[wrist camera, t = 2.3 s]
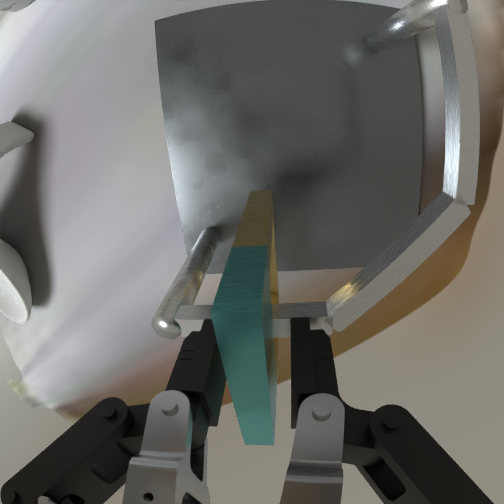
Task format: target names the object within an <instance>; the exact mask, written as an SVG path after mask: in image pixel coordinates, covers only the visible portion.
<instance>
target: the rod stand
mask: <svg viewBox="0 0 504 504" xmlns="http://www.w3.org/2000/svg"><path fill="white" fill-rule="evenodd" d="M467 10H468V4H467V1H466V0H413V1H412V2H410V3H409V4H408V5H406V6H405V7H403V8H402V9H397V8H392V7H386V6H380V5H374V4H367V3H358V2H349V1H336V0H268V1H256V2H246V3H238V4H230V5H223V6H217V7H212V8H206V9H201V10H196V11H192V12H187V13H183V14H179V15H175V16H171V17H167V18H164V19H160V20H157V21H155V35H156V48H157V60H158V71H159V81H160V90H161V99H162V107H163V115H164V123H165V130H166V138H167V144H168V151H169V158H170V164H171V170H172V176H173V182H174V188H175V194H176V199H177V205H178V210H179V215H180V220H181V226H182V231H183V236H184V240H185V245H186V250H187V255H188V257H187V259H186V260H185V262H184V264H183V265H182V267H181V269H180V271H179V272H178V274H177V276H176V278H175V280H174V281H173V283H172V285H171V287H170V288H169V290H168V292H167V294H166V296H165V297H164V299H163V301H162V303H161V305H160V307H159V308H158V310H157V312H156V314H155V316H154V318H153V320H152V328H153V329H154V331H155V332H156V333H157V334H158V335H160V336H161V337H163V338H166V339H176V338H178V337H187V336H188V335H189V334H190V333H191V332H192V331H200V330H201V327H202V324H203V321H204V319H212V318H211V313H210V312H211V309H212V306H213V305H193V303H194V301H195V299H196V296H197V294H198V291H199V289H200V286H201V284H202V282H203V279H204V277H205V274H219V273H223V272H224V269H225V266H226V263H227V260H228V257H229V254H230V251H231V248H232V245H233V242H234V239H235V236H236V233H237V230H238V227H239V224H240V221H241V218H242V215H243V212H244V209H245V206H246V203H247V200H248V197H249V194H250V191H258V190H272V198H273V212H274V226H275V240H276V256H277V271H297V270H318V269H337V268H355V267H365V268H364V269H363V270H362V271H360V272H359V273H358V274H357V275H356V276H355V277H354V278H353V279H351V280H350V281H349V282H348V283H347V284H346V285H345V286H343V287H342V288H341V289H340V290H339V291H338V292H336V293H335V294H334V295H333V296H332V297H330V298H329V299H328V300H327V301H326V302H308V303H286V304H272V316H273V331H274V338H275V337H291V331H290V317H309V320H310V329H311V330H316V329H323V330H324V331H325V332H326V334H327V335H332V329H333V328H334V329H335V330H337V331H338V332H341V331H342V330H343V329H345V328H346V327H347V326H349V325H350V324H351V323H352V322H354V321H355V320H356V319H358V318H359V317H360V316H361V315H363V314H364V313H365V312H366V311H368V310H369V309H370V308H371V307H373V306H374V305H375V304H376V303H377V302H379V301H380V300H381V299H382V298H383V297H385V296H386V295H387V294H388V293H389V292H390V291H392V290H393V289H394V288H395V287H396V286H397V285H398V284H400V283H401V282H402V281H403V280H404V279H405V278H406V277H407V276H409V275H410V274H411V273H412V272H413V271H414V270H415V269H416V268H417V267H418V266H419V265H420V264H422V263H423V262H424V261H425V260H426V259H427V258H428V257H429V256H430V255H431V254H432V253H433V252H434V251H435V250H436V249H437V248H438V247H439V246H440V245H441V244H442V243H443V242H444V241H445V240H446V239H447V238H448V237H449V236H450V235H451V234H452V233H453V232H454V231H455V230H456V229H457V228H458V227H459V225H460V224H461V223H462V222H463V221H464V220H465V219H466V218H467V217H468V216H469V215H470V213H471V212H470V210H469V208H468V206H467V205H474V202H475V195H476V186H477V177H478V165H479V146H480V108H479V90H478V78H477V69H476V61H475V54H474V48H473V42H472V36H471V31H470V27H469V22H468V18H467V14H466V12H467ZM434 25H436V30H437V35H438V41H439V47H440V54H441V62H442V71H443V81H444V94H445V117H446V144H445V168H444V182H443V191H442V192H441V193H440V194H439V196H438V197H437V198H436V199H435V200H434V201H433V202H432V203H431V204H430V205H429V206H428V207H427V208H426V209H425V210H424V211H423V212H422V213H421V214H420V215H419V216H418V211H419V201H420V190H421V175H422V148H423V124H422V98H421V84H420V73H419V64H418V55H417V48H416V42H415V34H417V33H419V32H421V31H423V30H425V29H428V28H430V27H432V26H434Z"/></svg>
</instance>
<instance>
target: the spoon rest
mask: <svg viewBox="0 0 504 504" xmlns="http://www.w3.org/2000/svg"><path fill="white" fill-rule="evenodd" d="M33 138H34V133H33V132H31V131H30V130H28V129H26V128H23V127H22V126H20V125H18V124H15V123H13V122H5V123H3V124H1V125H0V158H1V157H2V156H4V155H5V154H6V153H8V152H10V151H11V150H13V149H15V148H17V147H19V146H21V145H24V144H26V143H29V142H30V141H32V139H33ZM31 308H32V295H31V289H30V284H29V280H28V272H27V269H26V266H25V264H24V261H23V260H22V258H21V256H20V255H19V254H18V252H17V251H16V250H15V249H14V248H13V247H12V246H11V245H9V244H7V243H5V242H4V241H3V240H1V239H0V311H1V312H2V313H3V314H4V315H5V316H7V317H8V318H9V319H11V320H13V321H15V322H17V323H26V322H27V321H28V319H29V317H30V314H31Z"/></svg>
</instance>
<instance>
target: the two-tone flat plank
mask: <svg viewBox="0 0 504 504" xmlns="http://www.w3.org/2000/svg"><path fill="white" fill-rule="evenodd" d="M272 304H279V290H278V272H277V256H276V240H275V226H274V212H273V198H272V190H258V191H250V194H249V197H248V200H247V203H246V206H245V209H244V212H243V215H242V218H241V221H240V224H239V227H238V230H237V233H236V236H235V239H234V242H233V245H232V248H231V251H230V254H229V257H228V260H227V263H226V266H225V269H224V272H223V275H222V278H221V281H220V284H219V287H218V290H217V294H216V297H215V300H214V303H213V306H212V309H211V312H210V313H211V318H212V322H213V326H214V330H215V335H216V339H217V343H218V347H219V351H220V355H221V359H222V363H223V367H224V371H225V375H226V379H227V382H228V386H229V390H230V393H231V397H232V401H233V404H234V408H235V411H236V415H237V418H238V422H239V425H240V429H241V432H242V436H243V439H244V442H245V444H246V445H274V437H275V417H276V393H277V392H276V391H277V363H278V337H275V338H274V331H273V316H272Z"/></svg>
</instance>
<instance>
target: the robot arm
mask: <svg viewBox="0 0 504 504" xmlns="http://www.w3.org/2000/svg"><path fill="white" fill-rule="evenodd" d="M32 1H33V0H0V10H1V11H10V12H15V11H18V10H21V9H23V8H24V7H26V6H27V5H29V4H30V3H31V2H32ZM290 331H291V429H296V431H295V437H294V443H293V448H292V454H291V459H290V464H289V467H288V470H287V473H286V479H285V482H284V487H283V492H282V496H281V500H280V504H340V502H341V495H342V485H343V470H342V467H341V466H342V463H348V464H353V465H355V466H356V467H357V468H358V470H359V471H360V473H361V474H362V475H363V477H364V478H365V479H366V481H367V482H368V483H369V485H370V486H371V487H372V488H373V490H374V491H375V493H376V494H377V495H378V496H379V498H380V499H381V500H382V501H383V503H384V504H494V503H493V502H492V501H491V500H490V499H489V498H488V497H487V496H486V495H485V494H484V493H483V492H482V490H481V489H480V488H479V487H478V486H477V485H476V484H475V483H474V482H473V481H472V480H471V479H470V477H469V476H468V475H467V474H466V473H465V472H464V471H463V470H462V469H461V468H460V467H459V465H458V464H457V463H456V462H455V461H454V460H453V459H452V458H451V457H450V456H449V455H448V454H447V453H446V452H445V450H444V449H443V448H442V447H441V446H440V445H439V444H438V443H437V442H436V441H435V440H434V439H433V438H432V437H431V435H430V434H429V433H428V432H427V431H426V430H425V429H424V428H423V427H422V426H421V425H420V424H419V423H418V421H417V420H416V419H415V418H414V417H413V416H412V415H411V414H410V413H409V412H408V411H407V410H406V409H405V408H403V407H401V406H398V405H385V406H382V407H380V408H378V409H377V410H376V411H375V412H372V411H365V410H359V409H355V408H353V407H350V406H349V405H347V404H346V403H345V402H344V401H343V400H342V399H341V397H340V395H339V392H338V385H337V378H336V372H335V366H334V360H333V353H332V347H331V341H330V337H329V336H328V335H327V334H326V332H325V331H324V330H323V329H316V330H311V329H310V320H309V317H290ZM225 383H226V375H225V371H224V367H223V363H222V359H221V355H220V351H219V347H218V343H217V339H216V335H215V330H214V326H213V322H212V319H204V321H203V324H202V327H201V330H200V331H192V332H191V333H190V334H189V335H188V336H187V337H186V338H185V339H184V341H183V344H182V347H181V349H180V352H179V355H178V357H177V360H176V363H175V365H174V368H173V371H172V374H171V376H170V379H169V382H168V385H167V387H166V390H165V391H164V392H161V393H159V394H158V395H156V396H155V397H154V398H153V399H152V401H151V403H148V404H142V405H134V406H127V405H126V404H125V402H124V401H123V400H121V399H119V398H115V397H110V398H106V399H103V400H102V401H100V402H99V403H98V404H97V405H95V406H94V407H93V408H92V409H91V410H90V411H89V412H87V413H86V414H85V415H84V416H83V417H82V418H81V419H79V420H78V421H77V422H76V423H75V424H74V425H72V426H71V427H70V428H69V429H68V430H67V431H66V432H64V434H62V435H61V436H60V437H59V438H57V439H56V440H55V441H54V442H53V443H52V444H51V445H49V446H48V447H47V448H46V449H45V450H44V451H42V452H41V453H40V454H39V455H38V456H37V457H36V458H34V459H33V460H32V461H31V462H30V463H28V464H27V465H26V466H25V467H24V468H23V469H21V470H20V471H19V472H18V473H17V474H15V475H14V476H13V477H12V478H11V479H9V480H8V481H7V482H6V483H5V484H4V485H3V487H2V489H1V501H2V504H103V503H104V502H105V501H107V500H108V499H109V498H110V497H111V496H112V495H113V494H114V493H115V492H116V491H117V490H118V489H119V488H120V487H121V486H122V485H124V484H125V489H124V496H123V502H122V504H210V496H209V490H208V487H207V451H208V450H207V449H208V439H207V431H208V427H209V426H217V425H218V419H219V415H220V409H221V404H222V399H223V394H224V389H225Z"/></svg>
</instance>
